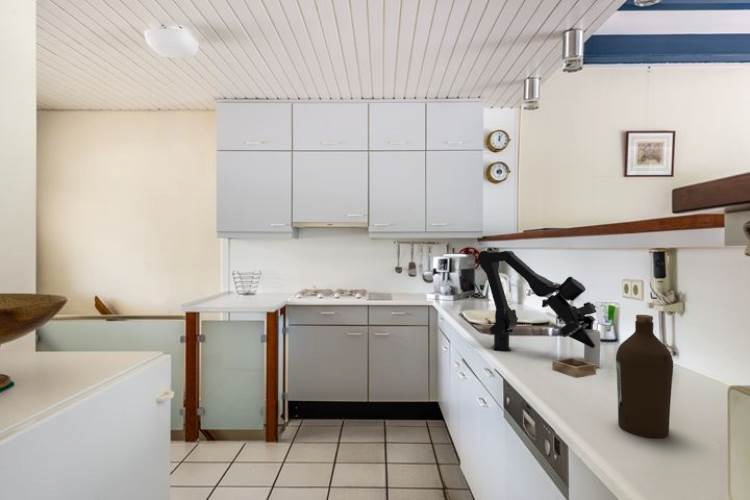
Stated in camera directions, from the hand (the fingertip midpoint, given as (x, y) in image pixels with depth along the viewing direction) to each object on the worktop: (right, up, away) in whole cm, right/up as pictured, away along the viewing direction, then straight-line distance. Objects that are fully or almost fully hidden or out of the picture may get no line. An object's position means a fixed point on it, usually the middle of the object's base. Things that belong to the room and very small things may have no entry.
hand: (596, 345), depth 141 cm
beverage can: (-1, -7, +1) cm, 7 cm away
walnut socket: (-10, -7, -6) cm, 14 cm away
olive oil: (-15, -7, -48) cm, 51 cm away
